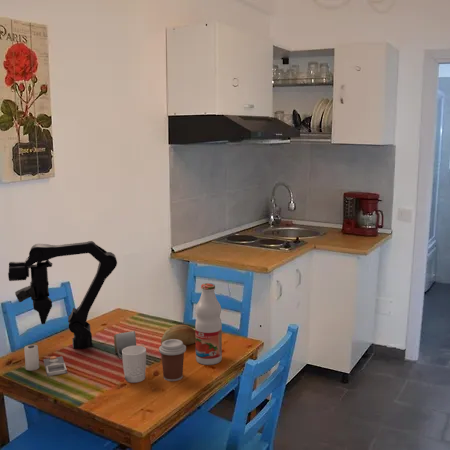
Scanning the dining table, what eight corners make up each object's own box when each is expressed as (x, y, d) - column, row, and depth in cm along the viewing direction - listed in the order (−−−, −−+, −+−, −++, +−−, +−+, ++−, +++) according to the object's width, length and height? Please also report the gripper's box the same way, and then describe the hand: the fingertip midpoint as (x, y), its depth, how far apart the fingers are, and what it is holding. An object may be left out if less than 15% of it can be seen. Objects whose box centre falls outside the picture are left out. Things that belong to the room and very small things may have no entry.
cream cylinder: (39, 368, 189) (37, 343, 187) (40, 373, 185) (38, 347, 183) (25, 370, 187) (23, 345, 185) (26, 375, 183) (24, 349, 181)
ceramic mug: (114, 349, 205) (113, 329, 204) (136, 347, 207) (135, 328, 206) (115, 360, 195) (114, 340, 194) (138, 358, 197) (137, 338, 196)
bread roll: (203, 346, 208) (202, 326, 206) (166, 353, 201) (166, 333, 200) (193, 338, 216) (192, 319, 215) (157, 344, 210) (157, 325, 208)
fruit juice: (227, 359, 196) (226, 284, 191) (210, 367, 188) (209, 290, 184) (207, 352, 201) (206, 279, 197) (190, 361, 194) (189, 285, 190)
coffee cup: (175, 385, 175) (175, 350, 173) (153, 378, 180) (152, 344, 178) (192, 374, 183) (191, 341, 181) (170, 368, 188) (169, 336, 186)
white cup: (127, 385, 175) (126, 356, 174) (120, 376, 182) (118, 348, 181) (150, 380, 179) (149, 351, 177) (142, 371, 186) (141, 343, 184)
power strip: (43, 363, 193) (43, 356, 192) (62, 360, 195) (62, 353, 195) (47, 380, 179) (47, 373, 179) (67, 377, 182) (67, 370, 181)
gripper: (14, 275, 202) (17, 315, 205) (17, 288, 185) (20, 331, 188) (46, 272, 206) (48, 311, 209) (51, 284, 189) (53, 327, 192)
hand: (42, 320), depth 199 cm, fingers open, 9 cm apart
